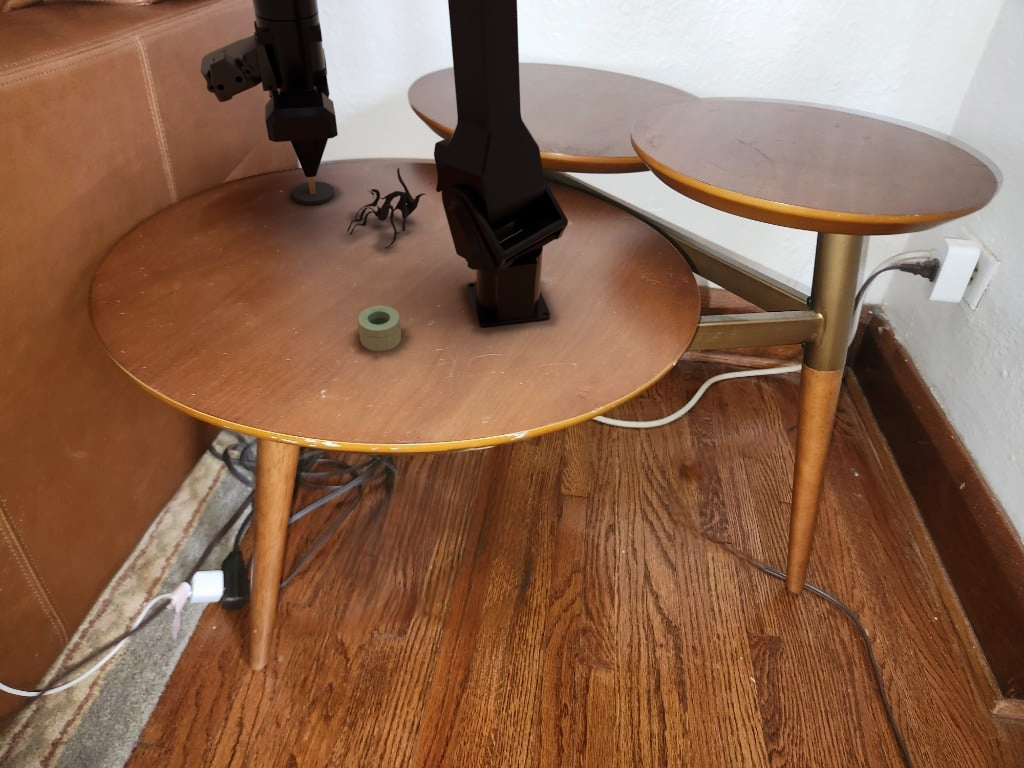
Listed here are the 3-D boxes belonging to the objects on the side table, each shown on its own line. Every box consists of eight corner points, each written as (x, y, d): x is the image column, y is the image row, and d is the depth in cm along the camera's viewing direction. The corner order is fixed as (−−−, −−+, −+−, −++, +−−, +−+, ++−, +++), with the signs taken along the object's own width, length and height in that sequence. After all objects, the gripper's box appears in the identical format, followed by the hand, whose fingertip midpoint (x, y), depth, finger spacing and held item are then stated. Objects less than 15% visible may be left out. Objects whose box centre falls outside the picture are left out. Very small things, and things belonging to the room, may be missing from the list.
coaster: (336, 203, 84) (335, 199, 83) (293, 206, 83) (293, 202, 82) (333, 183, 87) (332, 179, 87) (292, 187, 86) (291, 182, 86)
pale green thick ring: (404, 350, 66) (402, 327, 64) (362, 356, 65) (359, 332, 63) (398, 326, 68) (396, 303, 67) (358, 331, 68) (355, 307, 66)
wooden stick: (317, 193, 84) (305, 112, 78) (308, 194, 84) (295, 112, 78) (317, 187, 85) (305, 106, 79) (307, 188, 85) (295, 107, 79)
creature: (369, 266, 77) (439, 231, 79) (352, 221, 73) (426, 186, 75) (339, 229, 82) (406, 197, 84) (322, 185, 78) (392, 153, 80)
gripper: (200, -15, 77) (232, 135, 88) (188, 51, 64) (228, 219, 74) (315, -19, 80) (333, 129, 90) (327, 44, 66) (346, 209, 77)
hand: (309, 168), depth 83 cm, fingers open, 3 cm apart
